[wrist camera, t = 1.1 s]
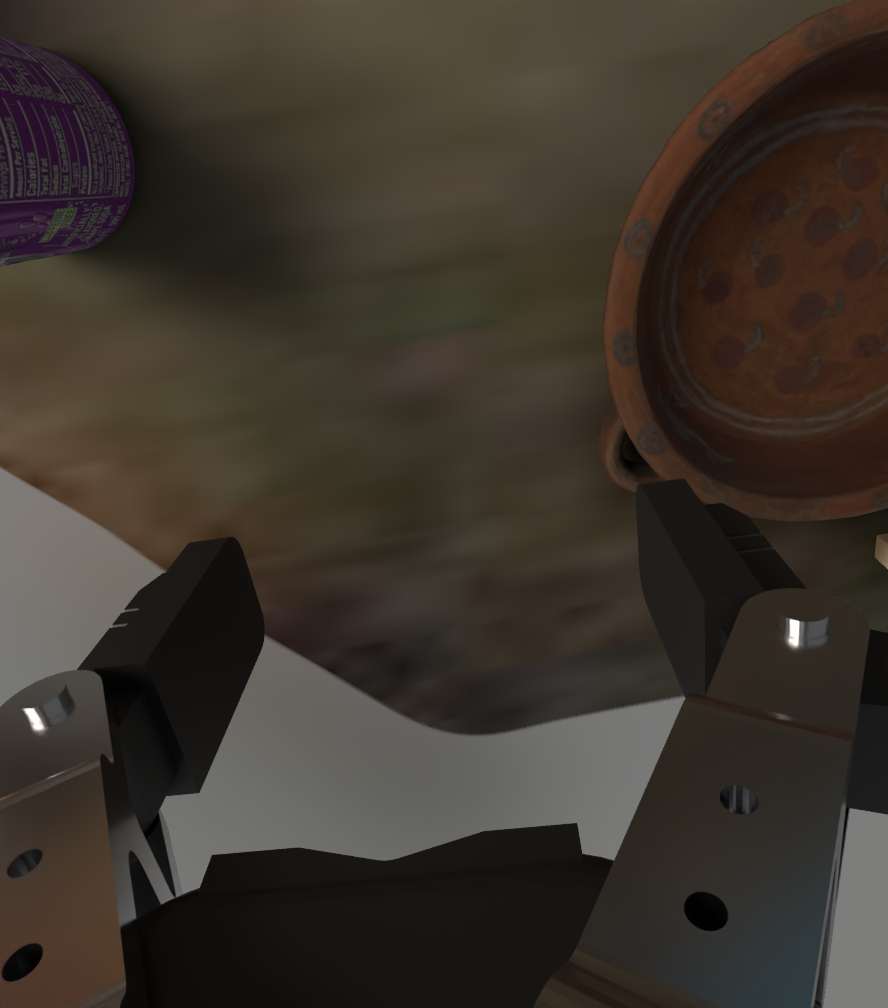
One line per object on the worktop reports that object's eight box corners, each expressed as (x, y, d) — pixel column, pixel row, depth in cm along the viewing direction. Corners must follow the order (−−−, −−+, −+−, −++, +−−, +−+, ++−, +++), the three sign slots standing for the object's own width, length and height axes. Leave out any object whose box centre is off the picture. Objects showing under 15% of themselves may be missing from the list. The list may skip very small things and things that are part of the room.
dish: (462, 322, 30) (461, 349, 26) (936, -175, 23) (1050, -259, 18) (715, 570, 35) (751, 630, 30) (1174, 224, 28) (1311, 234, 23)
